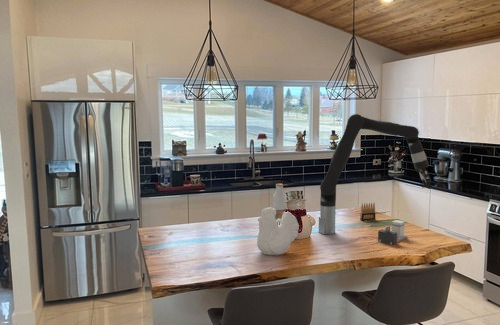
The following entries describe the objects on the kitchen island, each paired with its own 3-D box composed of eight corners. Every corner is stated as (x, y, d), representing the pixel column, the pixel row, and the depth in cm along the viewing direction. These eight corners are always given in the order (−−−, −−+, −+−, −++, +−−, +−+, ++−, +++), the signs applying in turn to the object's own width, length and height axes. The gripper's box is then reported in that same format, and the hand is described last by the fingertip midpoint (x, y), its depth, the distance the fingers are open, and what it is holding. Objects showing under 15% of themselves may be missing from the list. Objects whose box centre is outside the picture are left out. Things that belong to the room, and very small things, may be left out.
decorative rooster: (262, 260, 198) (262, 212, 195) (252, 250, 213) (252, 205, 210) (307, 254, 206) (308, 208, 203) (295, 245, 220) (295, 201, 217)
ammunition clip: (361, 220, 270) (361, 203, 269) (360, 220, 272) (360, 203, 271) (375, 219, 273) (376, 202, 271) (374, 219, 275) (374, 202, 273)
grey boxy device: (392, 236, 235) (393, 219, 233) (407, 240, 228) (408, 222, 227) (377, 244, 222) (378, 225, 220) (393, 247, 215) (393, 228, 214)
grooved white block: (395, 234, 232) (396, 219, 231) (404, 236, 229) (404, 221, 228) (391, 236, 229) (391, 221, 228) (400, 238, 225) (400, 223, 224)
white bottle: (269, 225, 261) (269, 183, 258) (281, 223, 265) (282, 182, 262) (276, 229, 252) (276, 185, 249) (289, 227, 257) (289, 184, 253)
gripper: (410, 161, 234) (418, 187, 234) (415, 163, 220) (424, 190, 220) (423, 157, 232) (431, 183, 232) (429, 159, 218) (438, 187, 218)
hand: (428, 187), depth 226 cm, fingers open, 8 cm apart
